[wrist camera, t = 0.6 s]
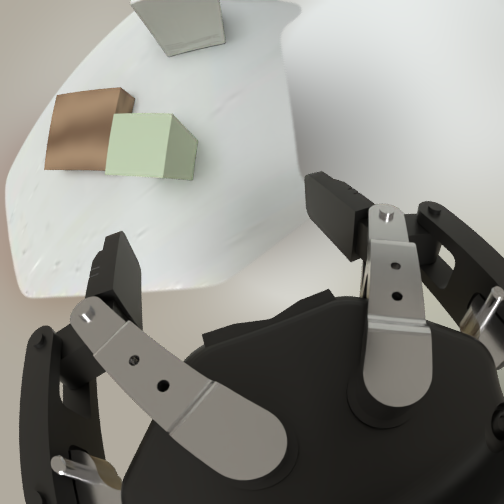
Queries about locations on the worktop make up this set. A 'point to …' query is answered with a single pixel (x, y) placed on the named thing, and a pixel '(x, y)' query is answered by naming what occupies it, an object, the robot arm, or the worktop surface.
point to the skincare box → (182, 23)
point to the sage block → (150, 147)
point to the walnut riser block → (84, 128)
